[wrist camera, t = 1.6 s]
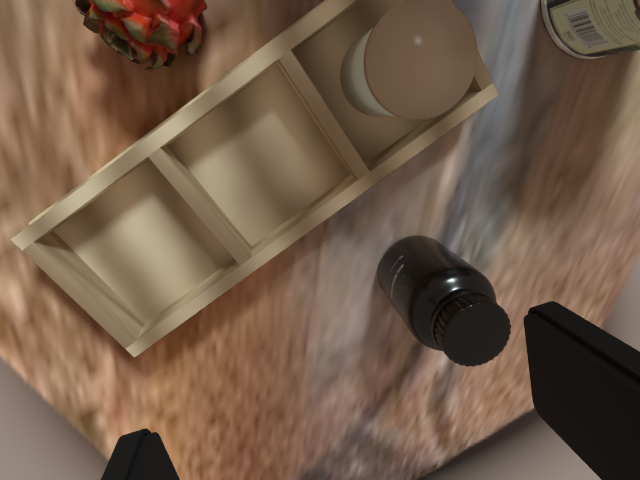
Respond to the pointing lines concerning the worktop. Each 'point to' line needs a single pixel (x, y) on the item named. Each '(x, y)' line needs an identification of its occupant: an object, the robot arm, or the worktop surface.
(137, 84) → the worktop surface
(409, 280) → the supplement bottle
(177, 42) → the dragon fruit
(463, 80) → the canister
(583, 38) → the coffee can
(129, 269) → the rack
